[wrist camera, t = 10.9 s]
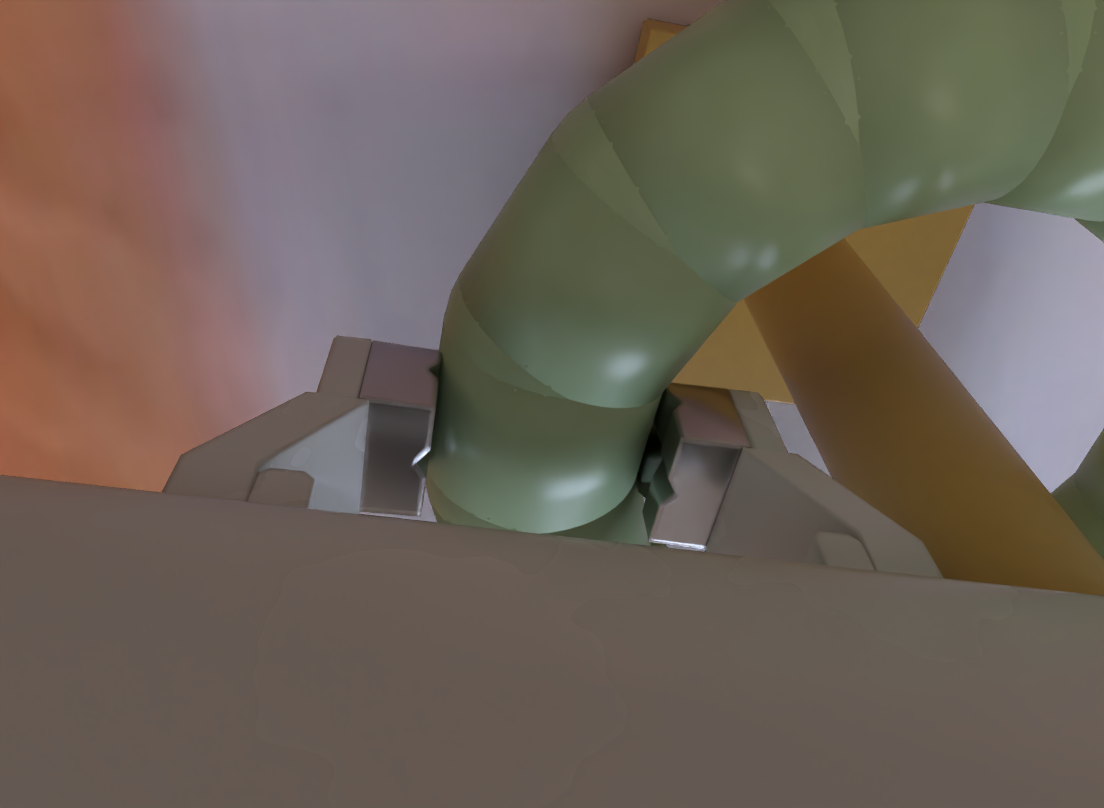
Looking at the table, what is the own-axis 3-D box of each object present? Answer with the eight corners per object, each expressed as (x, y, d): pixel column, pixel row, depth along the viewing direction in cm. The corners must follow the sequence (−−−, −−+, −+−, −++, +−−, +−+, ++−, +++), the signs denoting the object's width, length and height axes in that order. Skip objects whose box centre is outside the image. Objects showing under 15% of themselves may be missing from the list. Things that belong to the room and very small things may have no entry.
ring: (1509, 28, 13) (1779, 88, 10) (1028, 689, 21) (1113, 821, 18) (514, -211, 10) (533, -213, 8) (390, 646, 18) (378, 792, 15)
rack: (1001, 88, 20) (1629, 433, 9) (864, 396, 24) (1169, 886, 13) (643, 17, 18) (847, 310, 8) (567, 353, 23) (627, 851, 12)
